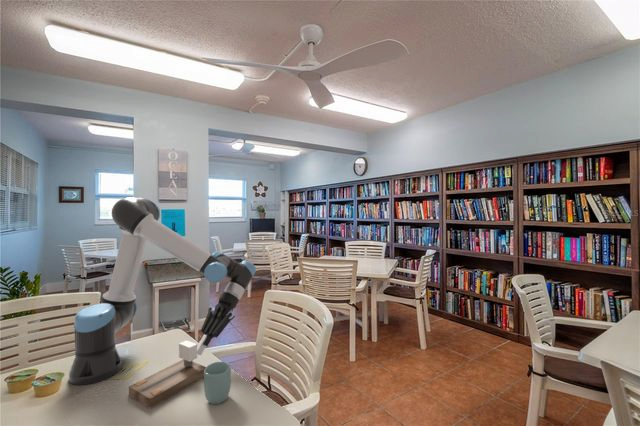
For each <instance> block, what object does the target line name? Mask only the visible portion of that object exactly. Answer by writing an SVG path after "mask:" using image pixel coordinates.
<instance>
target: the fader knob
mask: <svg viewBox="0 0 640 426" xmlns="http://www.w3.org/2000/svg"><path fill="white" fill-rule="evenodd" d="M197 345H198V343H195V342H192V341H190V340H187V339H186V340H184V341H181V342H180V343H179V342H178V354H179V355H178V357H179V359H182V360H183V359H184V366H186V367H189V366H191V365H193V362H194V360H197V359H198V354H197Z"/></svg>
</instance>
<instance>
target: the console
mask: <svg viewBox="0 0 640 426" xmlns="http://www.w3.org/2000/svg"><path fill="white" fill-rule="evenodd" d="M206 367H207V366H204V365H201V364H200V363H197V362H195V361H193V365H191V366H189V367H186V366H184V359H182V360H180V361H178V362H175V363H173V364H172V365H169V366H167V367H166V368H163V369H161V370H159V371H157V372H155V373H153V374H151V375H149V376H146V377H145V378H143V379H141V380H139V381H137V382H135V383H133V384H130V385H129V386H128V397H130V398H132V399H134V400H136V401H137V402H139V403H140V404H142V405H144V406H145V407H146V408H148V409H152V408H155V407H156V406H157V405H159V404H161V403H162V402H164V401H166V400H168V399H170V398H171V397H173V396H174V395H177V394H178V393H179V392H181V391H183V390H185V389H186V388H188V387H190V386H192V385H193V384H195V383H196V382H198V381H200V380H202V379H204V370H205V368H206Z"/></svg>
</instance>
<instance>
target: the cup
mask: <svg viewBox="0 0 640 426" xmlns="http://www.w3.org/2000/svg"><path fill="white" fill-rule="evenodd" d="M205 367H206V368H205V370H204V377H203V392H204V396H205V397H204V398H205V399H206V401H207V402H208V403H209V404H212V405H219V404H221V403H223V402H225V401H226V400H227V399H228V397H229V395H230V392H231V387H232V386H231V385H232V384H231V383H232V371H231V370H232V367H231V363H229V362H227V361H215V362H211V363H210V364H208V365H206V366H205Z"/></svg>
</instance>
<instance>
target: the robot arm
mask: <svg viewBox="0 0 640 426" xmlns="http://www.w3.org/2000/svg"><path fill="white" fill-rule="evenodd" d="M111 218H112V220H113V222H114V223H115V224H116V225H117V226H118V227H119V231H121V233H122V235H121V237H120V238H121V239H120V243H119V247H118V251H117V255H116V259H115V264H114V267H113V271H112V275H111V279H110V283H109V287H108V291H106V292H105V293H103V294H102V297H101V301H100V303H95V304H92V305H91V306H87V307H84V308H82V309H81V310H80V311H78V312H77V313H76V314H75V316H74V323H73V328H74V354H75V355H74V359H73V361H72V365H71V368H70V370H69V373H68V374H69V375H68V379H69V380H68V381H69V383H70V384H72V385H76V386H83V385H84V386H85V385H91V384H96V383H99V382H102V381H104V380H107V379H108V378H110V377H113V376H114V375H116V374H117V373H118V372H119V371H120V370H121V369H122V359H121V356H120V354H119V352H118V351H119V350H118V349H117V347H116V334H117V332H118V331H119V330H121V329H122V328H124V327H126V325H127V324H129V323H130V322H131V321H132V320H133V319H134V318H135V316H136V314H137V313H138V312H137V311H138V304H137V301H136V300H137V295H136V294H135V292H134V291H135V286H136V282H137V278H138V275H139V271H140V267H141V261H142V258H143V254H144V249H145V247H146V246H145V245H146V241H148V242H149V243H151V244H153V245H155V246H157V247H158V248H160V249H161V250H163V251H165V252H166V253H168V254H169V255H171V256H173V257H175V258H176V259H178V260H180V261H181V262H182V263H184V264H185V265H188V266H189V267H191V268H192V269H194V270H196V271H197V272H198V273H201V274H202V275H204V278H205V280H207V282H209V283H212V284H216V283H217V284H218V283H220V282H221V281H223V280H224V279H225V278H228V279H229V281H228V283H227V285H226V286H225V288H224V290H223V291H224V292H222V293H221V295H220V296H219V298H218V303H217V304H215V306H214V307H212V306H211V307H210V306H209V308H208V313H207V315H206V317H205V319H204V320H203V321H204V322H203V324H202V326H201V329H200V331H201V332H202V335H201V337H200V339H199V340H198V343H197V356H198V355H199V356H202V355H203V353H204V352H205V349H206V348H207V347H208V346H209V345H210V343H211V340H212V339H214V338H217V339H218V338H219V336H220V335H221V334H222V333H223V331H224V330H225V329H226V327H227V325H228V324H229V323H230V322H231V321H232V320H233V319H234V318H235V314H234V313H233V311H234V309H236V307H237V305H238V304H239V301H240V299H241V298H242V297H243V295H244V293H245V291H246V290H247V288H248V286H249V284H250V283H251V281H252V280H253V278H254V276H255V273H256V271H257V268H256V265H255V264H254V263H252V262H250V261H247V260H242V261H241V262H238V261H236V260H234V259H232V258H231V257H230V256H228V255H227V254H226V255H225V253H223V252H220V251H217V250H215V251H213V253H210V252H208V251H206V250H205V249H203V248H201V247H200V246H198V245H196V244H195V243H194V242H192V241H190V240H189V239H187V238H186V237H184V236H182V235H180V233H178V232H176V231H174V230H173V229H171V228H169V227H168V226H166V225H165V224H163V223H162V222H160V221H159V219H160V218H161V210H160V208H159V206H158V204H157V203H156V202H155V201H153V200H151V199H148V198H145V197H125V198H121V199H119V200H118V201H116V202H115V203H114V205H113V206H112V208H111Z"/></svg>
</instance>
